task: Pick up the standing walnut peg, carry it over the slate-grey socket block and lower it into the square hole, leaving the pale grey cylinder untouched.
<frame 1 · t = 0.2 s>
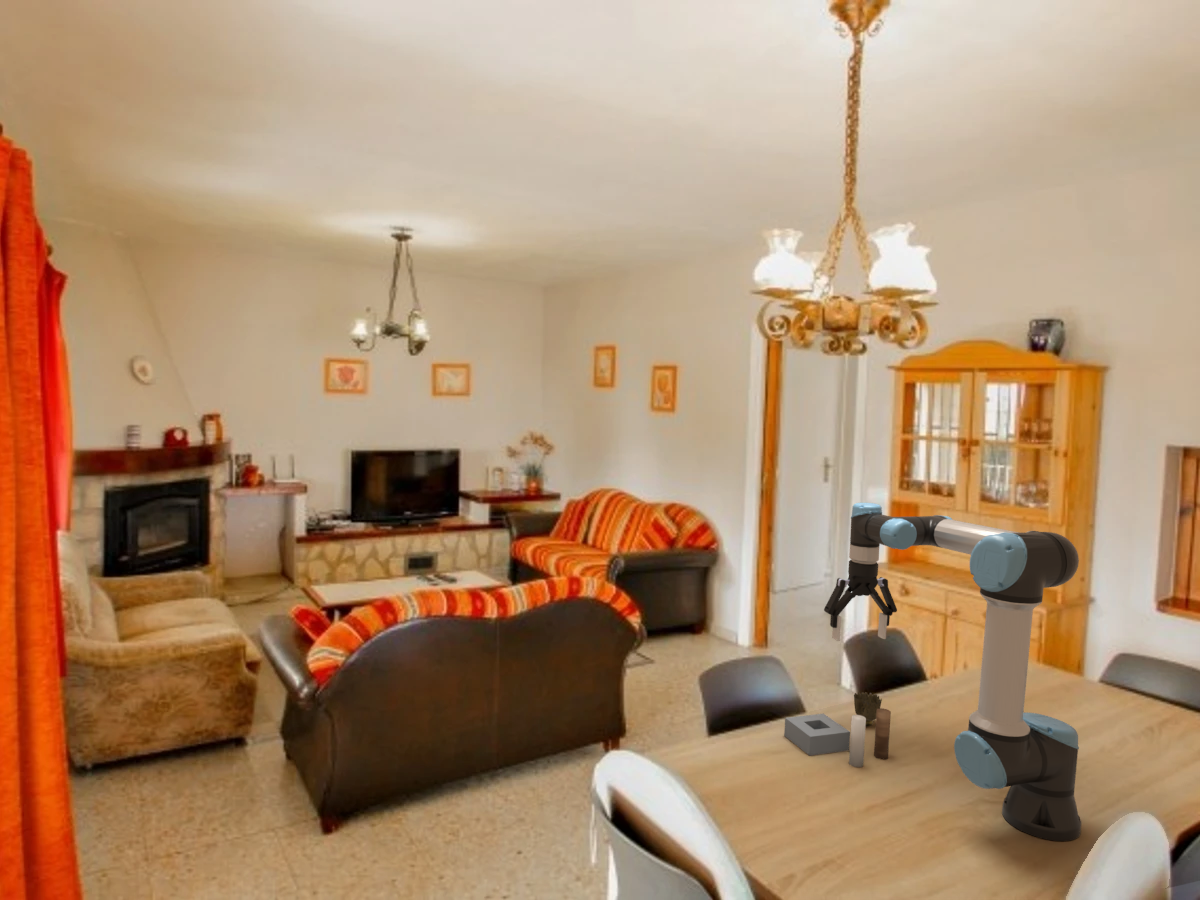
hand: (858, 638, 214), 27 cm above the table, fingers open, 13 cm apart
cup: (866, 724, 224), on the table
walnut peg: (880, 756, 204), on the table
pale grey cylinder: (856, 764, 200), on the table
socket block: (816, 742, 211), on the table
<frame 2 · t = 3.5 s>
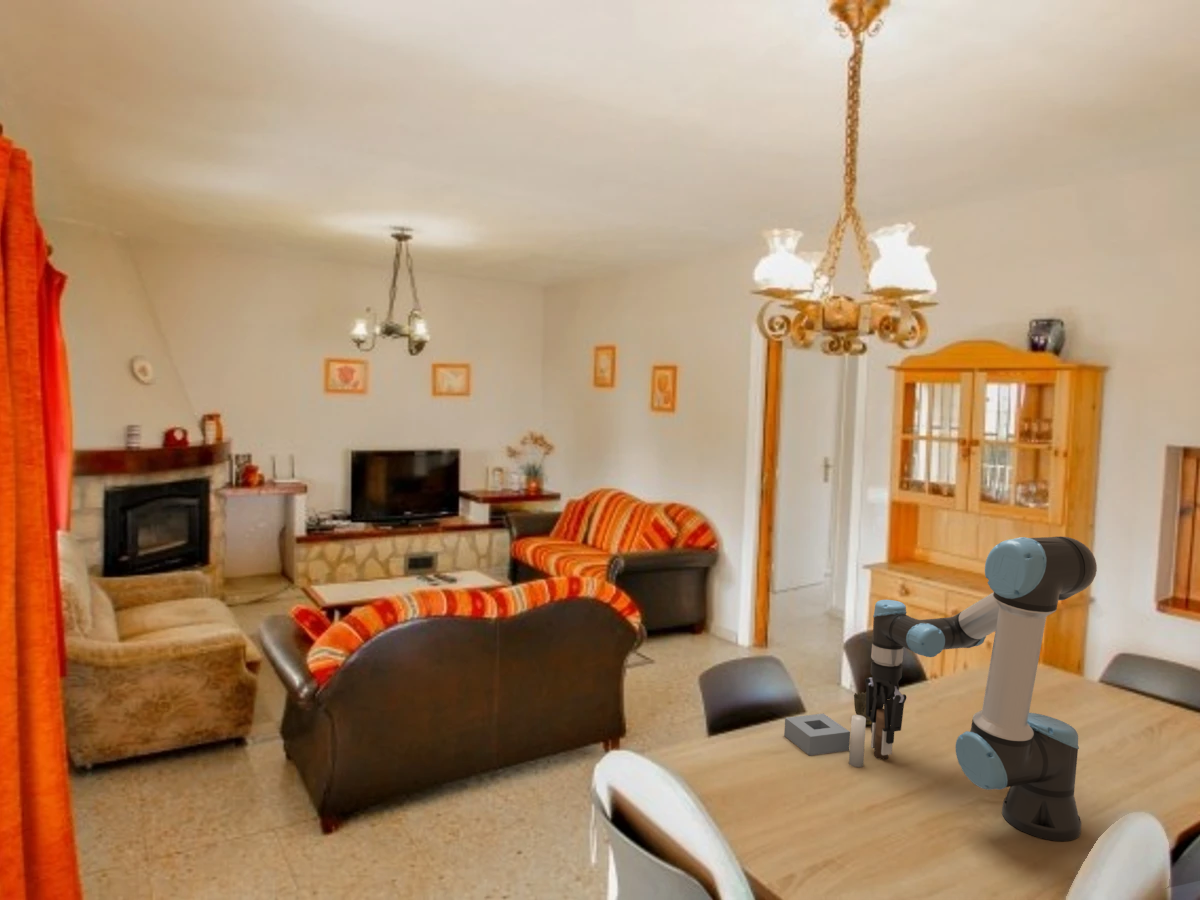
hand: (881, 750, 204), 2 cm above the table, fingers closed on walnut peg, 3 cm apart
walnut peg: (880, 756, 204), on the table, touching gripper
everything else where it was.
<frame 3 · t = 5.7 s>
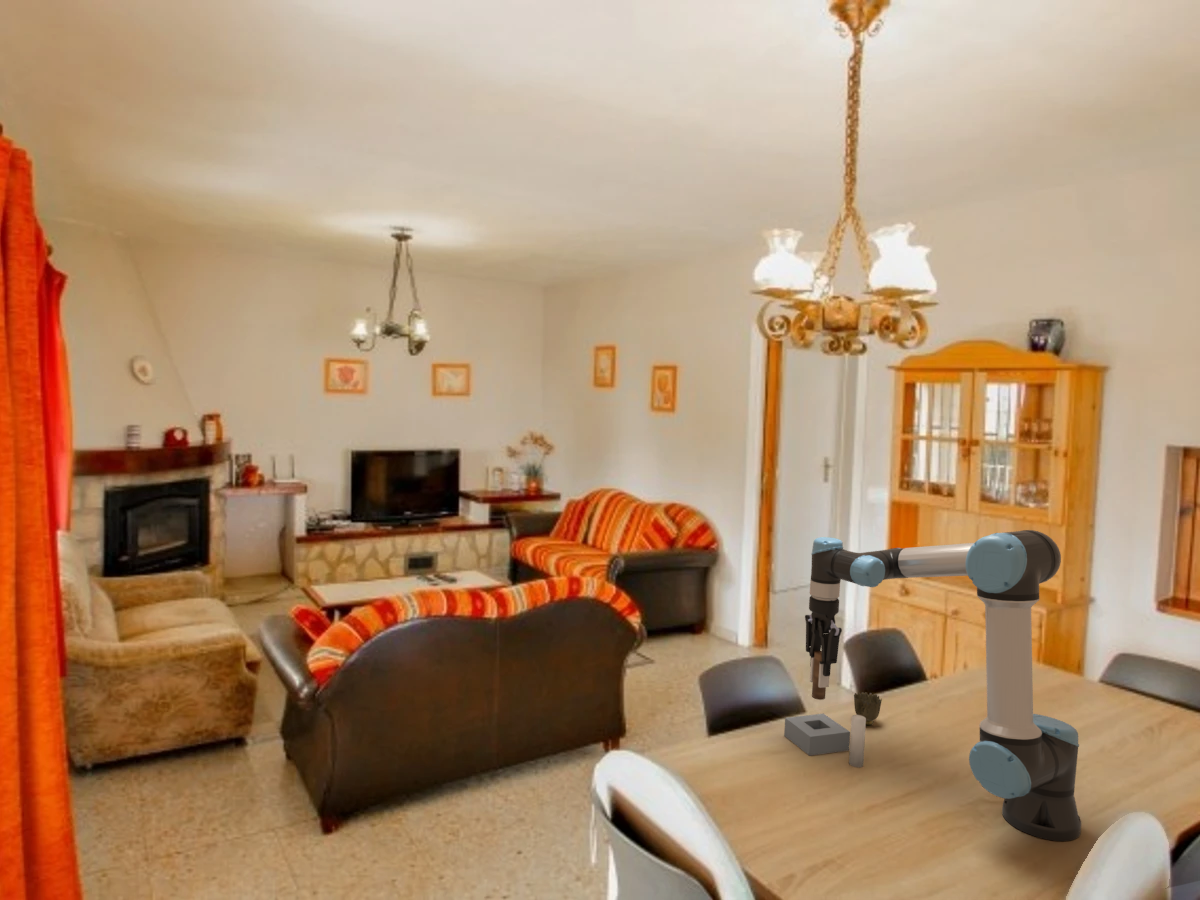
hand: (819, 683, 210), 16 cm above the table, fingers closed on walnut peg, 3 cm apart
walnut peg: (818, 697, 210), point 12 cm above the table, touching gripper
everything else where it was.
when the fingers open (6 cm above the table, at t = 7.9 s): walnut peg drops 2 cm, resting in socket block.
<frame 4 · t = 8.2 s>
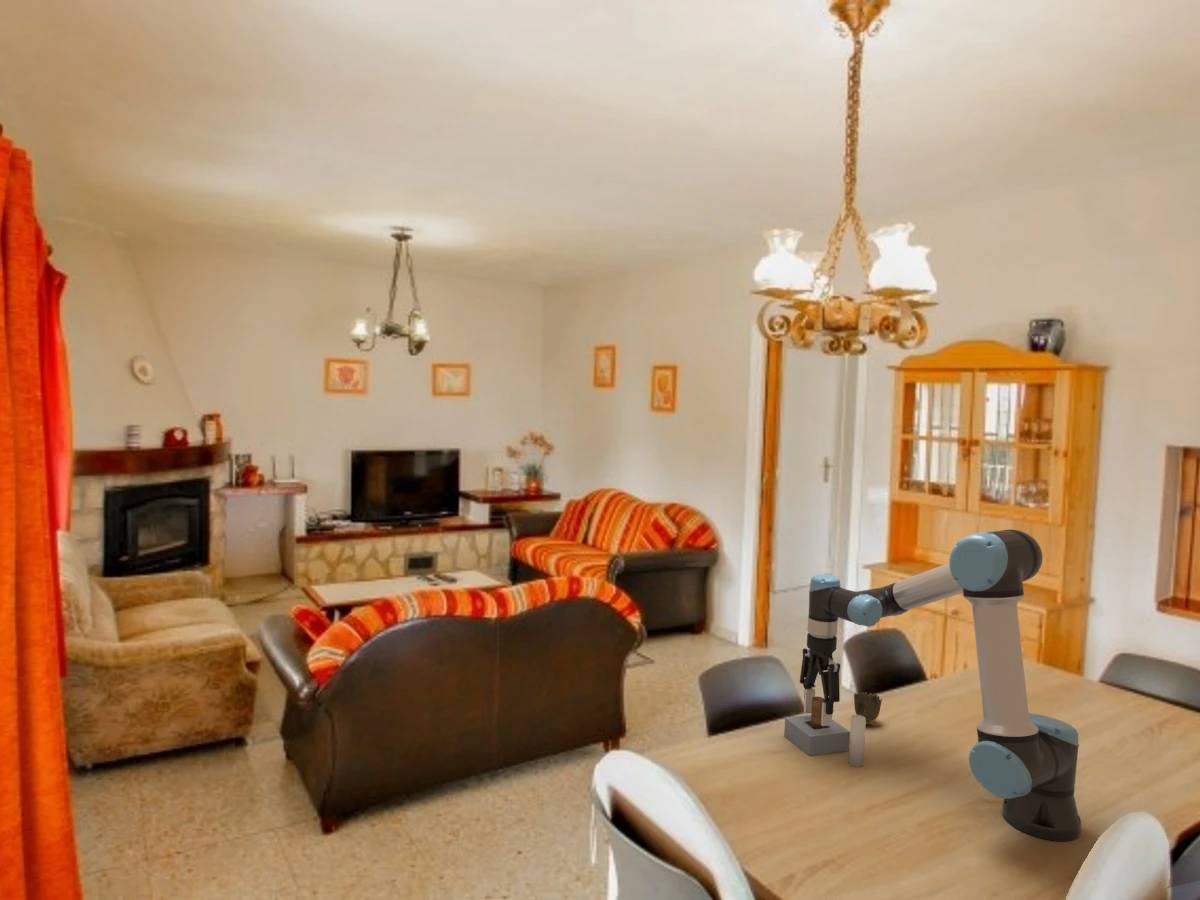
hand: (817, 718, 210), 7 cm above the table, fingers open, 7 cm apart
walnut peg: (816, 742, 211), resting in socket block
everything else where it was.
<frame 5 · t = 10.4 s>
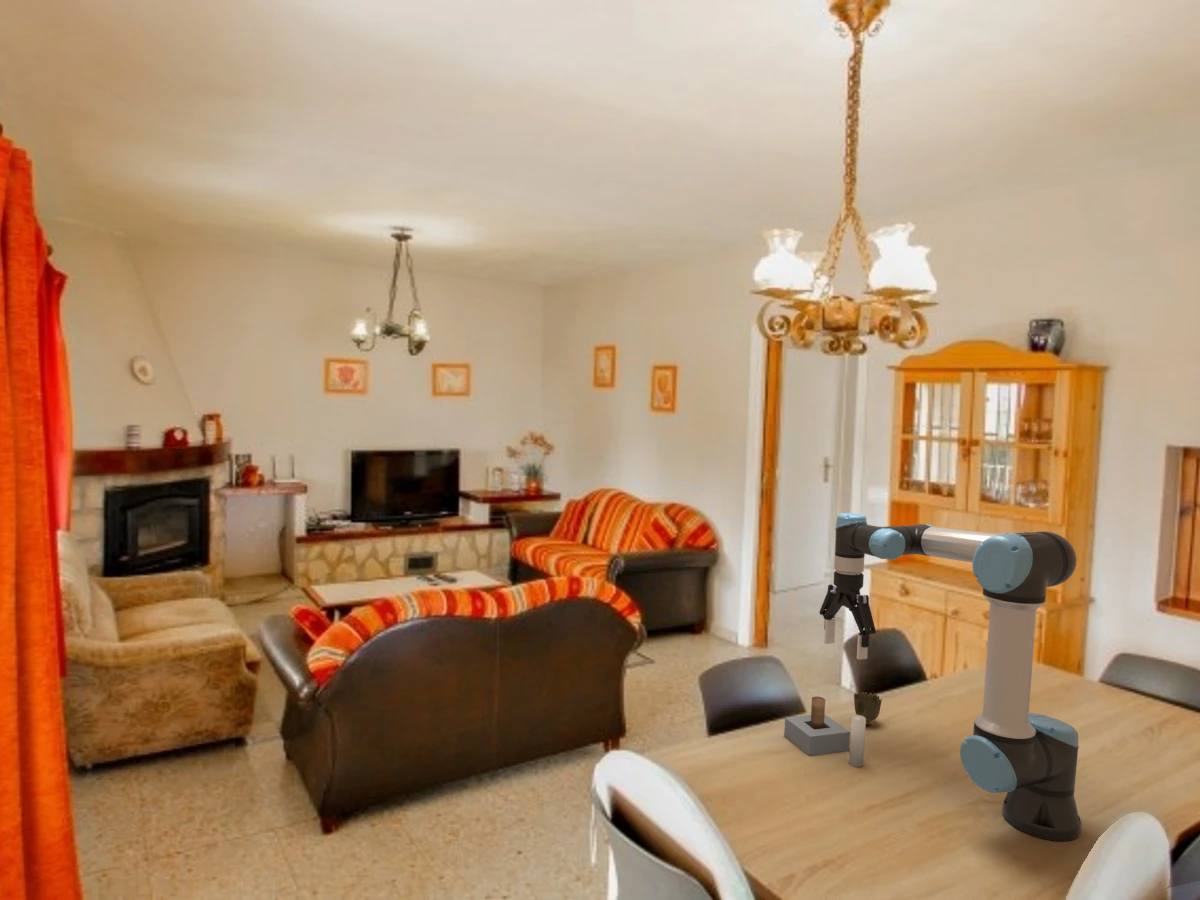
hand: (845, 650, 211), 24 cm above the table, fingers open, 13 cm apart
nothing on the table moved.
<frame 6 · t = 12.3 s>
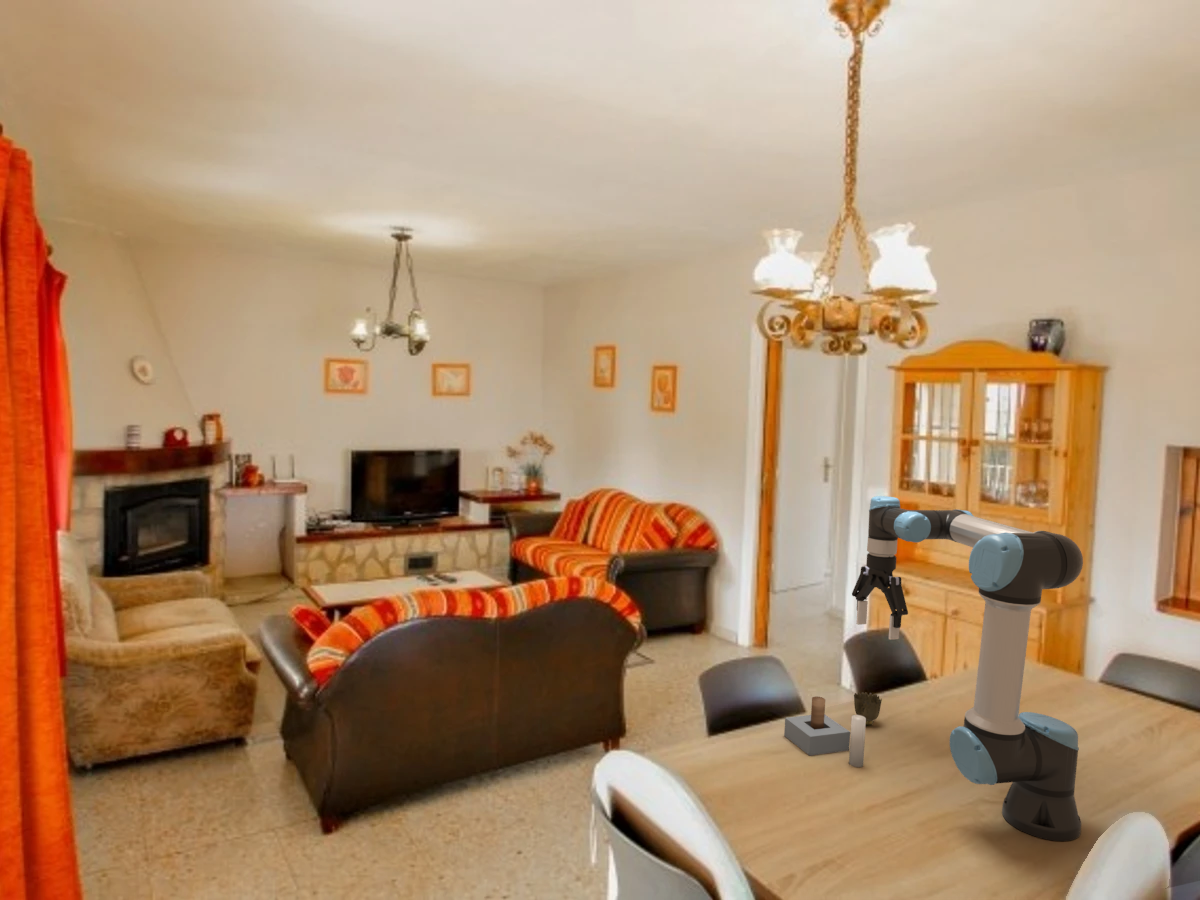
hand: (877, 631, 215), 29 cm above the table, fingers open, 13 cm apart
nothing on the table moved.
at the end: walnut peg 0.0 cm off-centre on the socket block, point 0.0 cm above the socket block's base; walnut peg tilted 0°; the gripper is holding nothing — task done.
